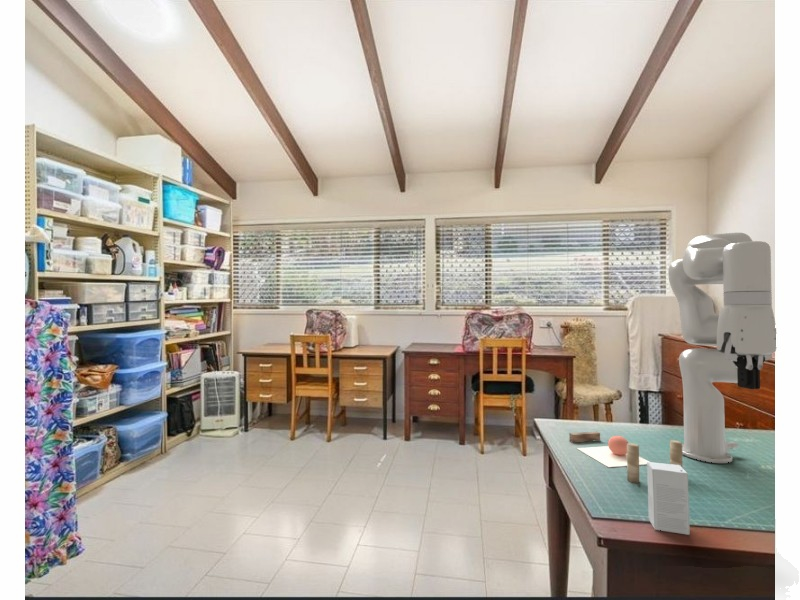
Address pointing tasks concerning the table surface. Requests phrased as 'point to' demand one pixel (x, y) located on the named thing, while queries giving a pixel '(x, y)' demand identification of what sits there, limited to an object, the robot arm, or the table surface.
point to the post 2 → (676, 453)
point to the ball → (618, 445)
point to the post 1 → (633, 463)
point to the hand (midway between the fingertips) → (748, 387)
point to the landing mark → (608, 456)
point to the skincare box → (668, 497)
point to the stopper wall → (584, 436)
